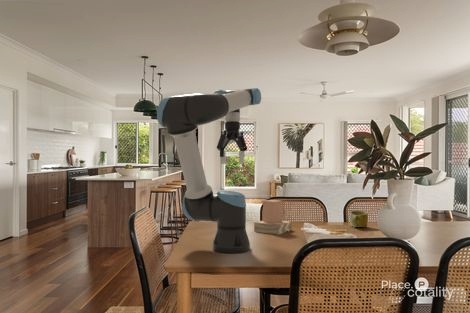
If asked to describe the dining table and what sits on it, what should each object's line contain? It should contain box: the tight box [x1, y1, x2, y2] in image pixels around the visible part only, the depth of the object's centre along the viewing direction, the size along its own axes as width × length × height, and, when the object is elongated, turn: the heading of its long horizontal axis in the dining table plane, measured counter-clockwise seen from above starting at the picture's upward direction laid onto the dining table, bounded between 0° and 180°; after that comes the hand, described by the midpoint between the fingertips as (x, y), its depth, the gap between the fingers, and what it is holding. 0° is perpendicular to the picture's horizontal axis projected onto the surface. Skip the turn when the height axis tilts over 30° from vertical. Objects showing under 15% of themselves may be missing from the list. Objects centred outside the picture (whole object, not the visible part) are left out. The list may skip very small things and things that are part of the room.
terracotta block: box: [262, 199, 283, 224], centre depth 182 cm, size 7×7×11 cm
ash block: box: [253, 220, 292, 235], centre depth 182 cm, size 14×14×5 cm
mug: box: [349, 210, 369, 228], centre depth 192 cm, size 12×10×10 cm
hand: (232, 163), depth 176 cm, fingers open, 13 cm apart
